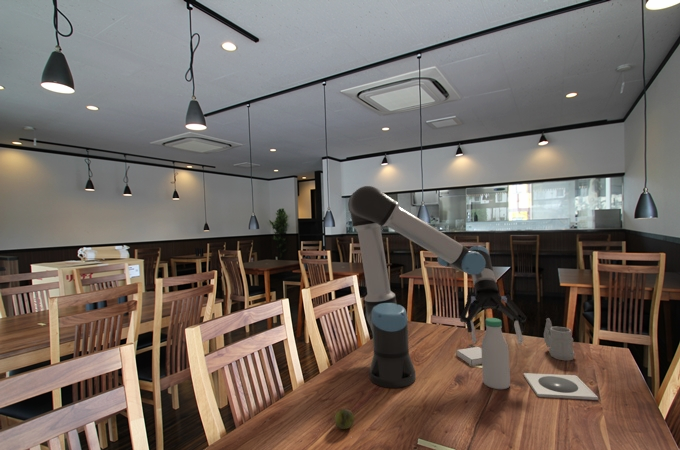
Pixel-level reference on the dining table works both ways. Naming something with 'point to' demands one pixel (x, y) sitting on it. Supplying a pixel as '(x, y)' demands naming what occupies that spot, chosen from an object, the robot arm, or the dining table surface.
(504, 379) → the milk bottle
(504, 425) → the dining table surface
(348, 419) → the lime
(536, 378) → the pad
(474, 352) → the white block with labels
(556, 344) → the mug
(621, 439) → the dining table surface
